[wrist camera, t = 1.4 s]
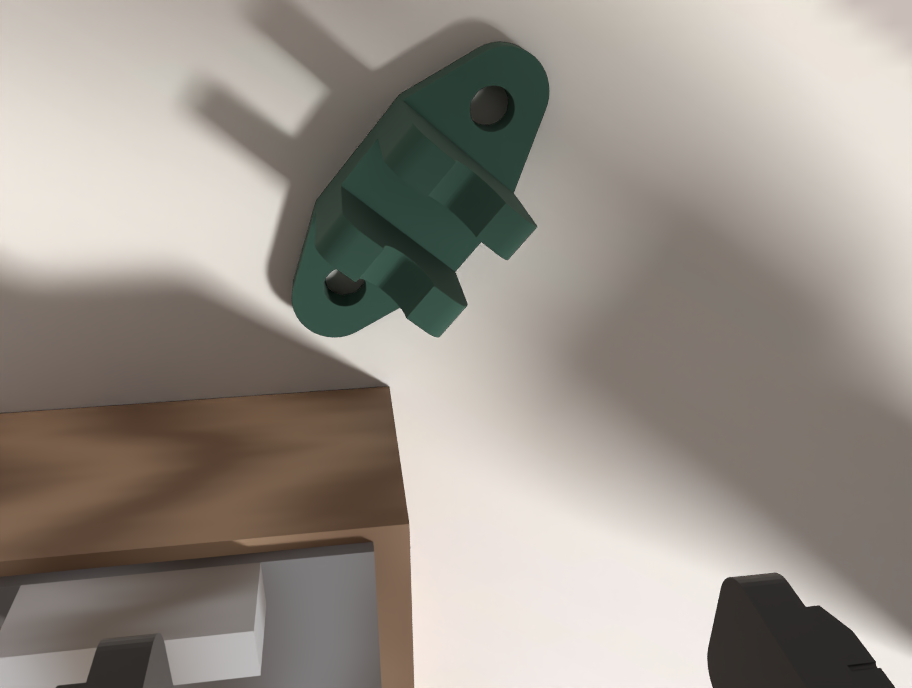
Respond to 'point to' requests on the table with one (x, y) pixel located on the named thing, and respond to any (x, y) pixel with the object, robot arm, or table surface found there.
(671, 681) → the table surface
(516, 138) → the mount
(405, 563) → the tray
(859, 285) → the table surface
